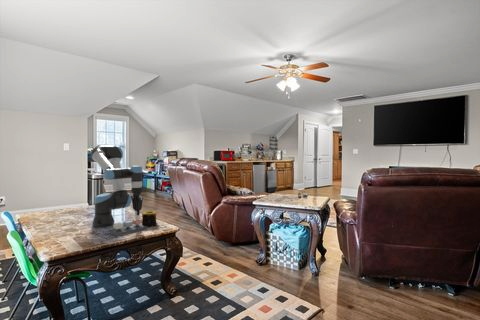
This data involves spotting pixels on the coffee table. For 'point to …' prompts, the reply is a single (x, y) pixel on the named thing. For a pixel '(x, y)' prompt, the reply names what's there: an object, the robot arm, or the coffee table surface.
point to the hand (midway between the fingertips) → (137, 219)
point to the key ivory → (118, 226)
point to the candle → (149, 218)
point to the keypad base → (127, 230)
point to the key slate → (128, 224)
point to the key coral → (137, 222)
